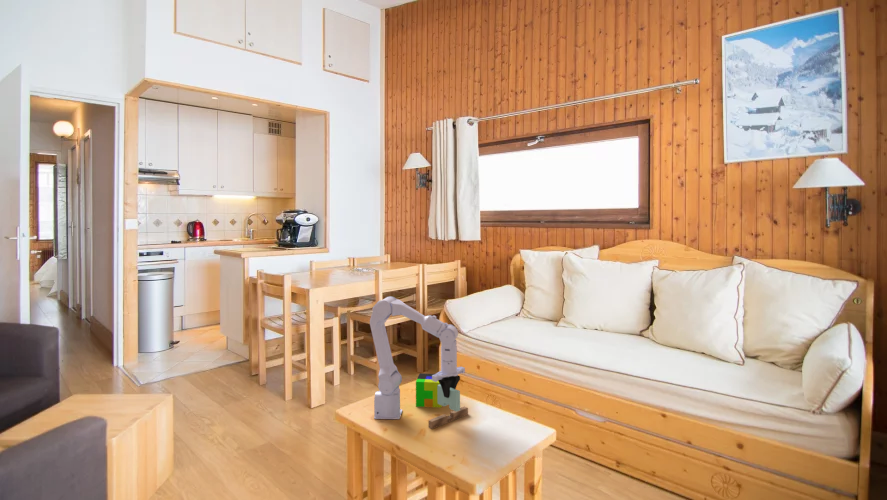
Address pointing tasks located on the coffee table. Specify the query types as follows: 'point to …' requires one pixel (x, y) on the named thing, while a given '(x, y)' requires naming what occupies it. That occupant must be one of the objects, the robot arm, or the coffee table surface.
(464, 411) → the walnut rail
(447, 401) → the teal plate
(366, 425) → the coffee table surface
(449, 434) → the coffee table surface
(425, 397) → the puzzle toy
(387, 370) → the robot arm
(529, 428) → the coffee table surface
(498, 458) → the coffee table surface
